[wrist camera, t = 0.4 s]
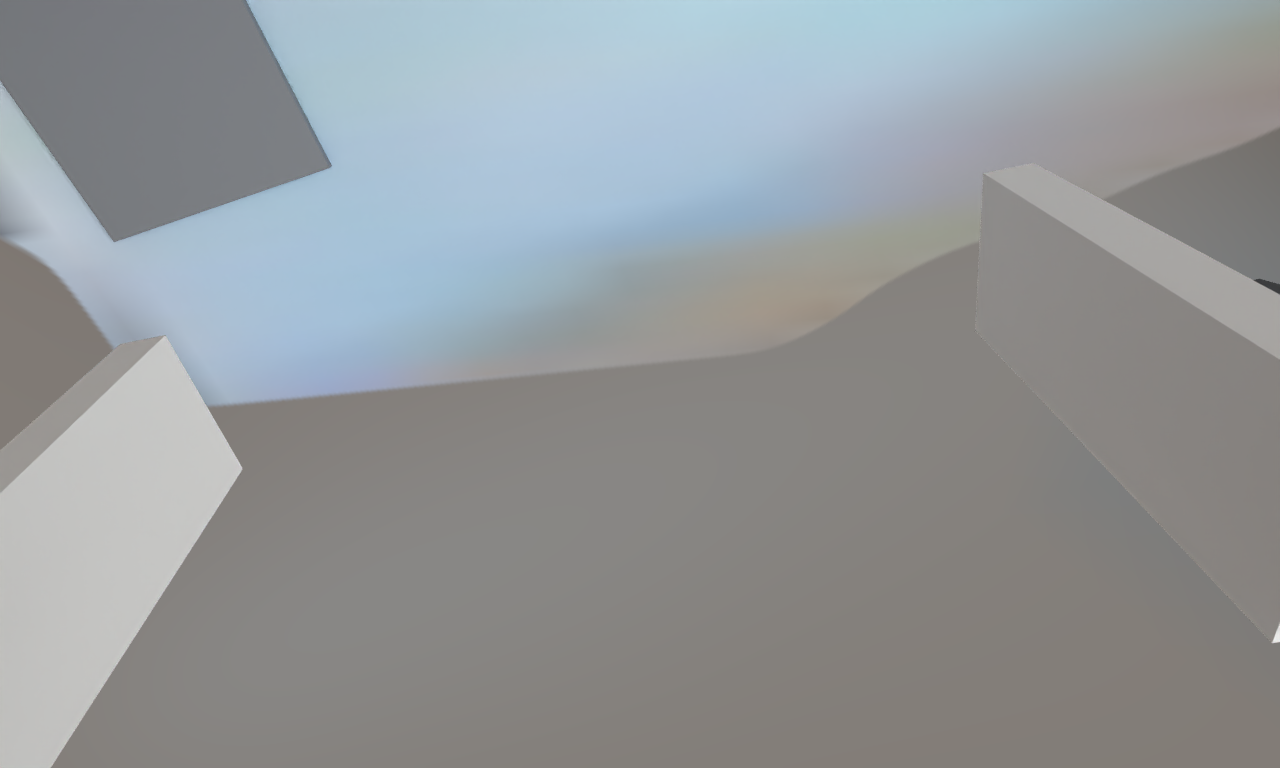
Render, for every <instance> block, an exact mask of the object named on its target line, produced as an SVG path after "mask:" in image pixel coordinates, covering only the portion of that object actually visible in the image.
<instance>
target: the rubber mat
mask: <svg viewBox="0 0 1280 768" xmlns="http://www.w3.org/2000/svg"><path fill="white" fill-rule="evenodd" d="M0 80H1V82H2V83H3V85H4V86H5V88H6V89H7V90H8V92H9V93H10V95H11V96H12V98H13V99H14V100H15V102H16V103H17V105H18V106H19V107H20V109H21V110H22V112H23V113H24V115H25V116H26V117H27V119H28V120H29V122H30V123H31V125H32V126H33V127H34V129H35V130H36V132H37V133H38V134H39V136H40V137H41V139H42V140H43V142H44V143H45V144H46V146H47V147H48V149H49V150H50V152H51V153H52V154H53V156H54V157H55V159H56V160H57V161H58V163H59V164H60V166H61V167H62V169H63V170H64V171H65V173H66V174H67V176H68V177H69V179H70V180H71V181H72V183H73V184H74V186H75V187H76V189H77V190H78V191H79V193H80V194H81V196H82V197H83V198H84V200H85V201H86V203H87V204H88V206H89V207H90V208H91V210H92V211H93V213H94V214H95V216H96V217H97V218H98V220H99V221H100V223H101V224H102V225H103V227H104V228H105V230H106V231H107V233H108V234H109V235H110V237H111V238H112V240H113V241H114V242H115V241H118V240H121V239H124V238H127V237H130V236H133V235H136V234H139V233H142V232H144V231H147V230H150V229H153V228H156V227H159V226H162V225H165V224H168V223H171V222H174V221H176V220H179V219H182V218H185V217H188V216H191V215H194V214H197V213H200V212H203V211H205V210H208V209H211V208H214V207H217V206H220V205H223V204H226V203H229V202H232V201H235V200H237V199H240V198H243V197H246V196H249V195H252V194H255V193H258V192H261V191H264V190H266V189H269V188H272V187H275V186H278V185H281V184H284V183H287V182H290V181H293V180H296V179H298V178H301V177H304V176H307V175H310V174H313V173H316V172H319V171H322V170H325V169H327V168H330V167H331V164H330V162H329V160H328V158H327V156H326V154H325V152H324V150H323V148H322V146H321V144H320V143H319V141H318V139H317V137H316V135H315V133H314V131H313V129H312V127H311V125H310V123H309V121H308V119H307V118H306V116H305V114H304V112H303V110H302V108H301V106H300V104H299V102H298V100H297V98H296V96H295V94H294V93H293V91H292V89H291V87H290V85H289V83H288V81H287V79H286V77H285V75H284V73H283V71H282V69H281V68H280V66H279V64H278V62H277V60H276V58H275V56H274V54H273V52H272V50H271V48H270V46H269V44H268V43H267V41H266V39H265V37H264V35H263V33H262V31H261V29H260V27H259V25H258V23H257V21H256V19H255V17H254V16H253V14H252V12H251V10H250V8H249V6H248V4H247V2H246V0H0Z"/></svg>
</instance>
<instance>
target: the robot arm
mask: <svg viewBox="0 0 1280 768" xmlns="http://www.w3.org/2000/svg"><path fill="white" fill-rule="evenodd" d="M975 331H976V332H977V333H978V334H979V335H980V336H981V337H982V338H983V339H984V340H985V341H986V343H987V344H988V345H989V346H990V347H991V348H992V349H993V350H994V351H995V352H996V353H997V354H998V355H999V356H1000V357H1001V358H1002V359H1003V360H1004V361H1005V363H1006V364H1007V365H1008V366H1009V367H1010V368H1011V369H1012V370H1013V371H1014V372H1015V373H1016V374H1017V375H1018V376H1019V377H1020V378H1021V379H1022V380H1023V381H1024V383H1025V384H1026V385H1027V386H1028V387H1029V388H1030V389H1031V390H1032V391H1033V392H1034V393H1035V394H1036V395H1037V396H1038V397H1039V398H1040V399H1041V400H1042V401H1043V402H1044V404H1045V405H1046V406H1047V407H1048V408H1049V409H1050V410H1051V411H1052V412H1053V413H1054V414H1055V415H1056V416H1057V417H1058V418H1059V419H1060V420H1061V421H1062V423H1064V425H1065V426H1066V427H1067V428H1068V429H1069V430H1070V431H1071V432H1072V433H1073V434H1074V435H1075V436H1076V437H1077V438H1078V439H1079V440H1080V441H1081V443H1082V444H1084V446H1085V447H1086V448H1087V449H1088V450H1089V451H1090V452H1091V453H1092V454H1093V455H1094V456H1095V457H1096V458H1097V459H1098V460H1099V461H1100V462H1101V464H1103V466H1104V467H1105V468H1106V469H1107V470H1108V471H1109V472H1110V473H1111V474H1112V475H1113V476H1114V477H1115V478H1116V479H1117V480H1118V481H1119V482H1120V483H1121V485H1123V487H1124V488H1125V489H1126V490H1127V491H1128V492H1129V493H1130V494H1131V495H1132V496H1133V497H1134V498H1135V499H1136V500H1137V501H1138V502H1139V503H1140V505H1141V506H1142V507H1143V508H1144V509H1145V510H1146V511H1147V512H1148V513H1149V514H1150V515H1151V516H1152V517H1153V518H1154V519H1155V520H1156V521H1157V522H1158V524H1160V526H1161V527H1162V528H1163V529H1164V530H1165V531H1166V532H1167V533H1168V534H1169V535H1170V536H1171V537H1172V538H1173V539H1174V540H1175V541H1176V542H1177V544H1179V546H1180V547H1181V548H1182V549H1183V550H1184V551H1185V552H1186V553H1187V554H1188V555H1189V556H1190V557H1191V558H1192V559H1193V560H1194V561H1195V562H1196V563H1197V565H1198V566H1199V567H1200V568H1201V569H1202V570H1203V571H1204V572H1205V573H1206V574H1207V575H1208V576H1209V577H1210V578H1211V579H1212V580H1213V581H1214V582H1215V583H1216V585H1217V586H1218V587H1219V588H1220V589H1221V590H1222V591H1223V592H1224V593H1225V594H1226V595H1227V596H1228V597H1229V598H1230V599H1231V600H1232V601H1233V602H1234V603H1235V605H1236V606H1237V607H1238V608H1239V609H1240V610H1241V611H1242V612H1243V613H1244V614H1245V615H1246V616H1247V617H1248V618H1249V619H1250V620H1251V621H1252V622H1253V623H1254V625H1255V626H1257V628H1258V629H1259V630H1260V631H1261V632H1262V633H1263V634H1264V635H1265V636H1266V637H1267V638H1268V639H1269V640H1270V641H1271V642H1272V643H1275V642H1280V284H1276V283H1273V282H1269V281H1265V280H1262V279H1256V280H1251V279H1250V278H1248V277H1246V276H1244V275H1242V274H1240V273H1238V272H1237V271H1235V270H1233V269H1231V268H1229V267H1227V266H1225V265H1223V264H1222V263H1220V262H1218V261H1216V260H1214V259H1212V258H1210V257H1208V256H1207V255H1205V254H1203V253H1201V252H1199V251H1197V250H1195V249H1193V248H1191V247H1190V246H1188V245H1186V244H1184V243H1182V242H1180V241H1179V240H1177V239H1175V238H1173V237H1171V236H1169V235H1167V234H1165V233H1163V232H1162V231H1160V230H1158V229H1156V228H1154V227H1152V226H1150V225H1148V224H1147V223H1145V222H1143V221H1141V220H1139V219H1137V218H1135V217H1134V216H1132V215H1130V214H1128V213H1126V212H1124V211H1122V210H1121V209H1119V208H1117V207H1115V206H1113V205H1111V204H1109V203H1107V202H1105V201H1104V200H1102V199H1100V198H1098V197H1096V196H1094V195H1092V194H1091V193H1089V192H1087V191H1085V190H1083V189H1081V188H1079V187H1077V186H1076V185H1074V184H1072V183H1070V182H1068V181H1066V180H1064V179H1063V178H1061V177H1059V176H1057V175H1055V174H1053V173H1051V172H1049V171H1048V170H1046V169H1044V168H1042V167H1040V166H1038V165H1036V164H1034V163H1032V164H1027V165H1022V166H1017V167H1012V168H1007V169H1002V170H997V171H992V172H987V173H983V188H982V208H981V229H980V249H979V269H978V290H977V309H976V330H975ZM242 469H243V468H242V467H241V465H240V463H239V461H238V460H237V458H236V456H235V455H234V453H233V451H232V450H231V448H230V446H229V444H228V443H227V441H226V439H225V437H224V436H223V434H222V432H221V430H220V429H219V427H218V425H217V424H216V422H215V420H214V419H213V417H212V415H211V413H210V411H209V410H208V408H207V406H206V405H205V403H204V401H203V399H202V398H201V396H200V394H199V393H198V391H197V389H196V387H195V386H194V384H193V382H192V380H191V379H190V377H189V375H188V374H187V372H186V370H185V368H184V367H183V365H182V363H181V361H180V360H179V358H178V356H177V355H176V353H175V351H174V349H173V348H172V346H171V344H170V343H169V341H168V339H167V337H166V336H165V335H164V336H159V337H154V338H149V339H144V340H139V341H134V342H129V343H124V344H120V345H119V346H118V347H116V348H115V349H114V350H113V351H112V352H111V353H110V354H109V355H107V356H106V357H105V358H104V359H103V360H102V361H101V362H99V363H98V364H97V365H96V366H95V367H94V368H93V369H92V370H91V371H89V372H88V373H87V374H86V375H85V376H84V377H83V378H81V379H80V380H79V381H78V382H77V383H76V384H75V385H74V386H72V387H71V388H70V389H69V390H68V391H67V392H66V393H65V394H63V396H61V397H60V398H59V399H58V400H57V401H55V402H54V404H52V405H51V406H50V407H49V408H48V409H46V410H45V411H44V412H43V413H42V414H41V415H40V416H39V417H37V418H36V419H35V420H34V421H33V422H32V423H31V424H30V425H28V426H27V427H26V428H25V429H24V430H23V431H22V432H21V433H19V434H18V435H17V436H16V437H15V438H14V439H13V440H12V441H10V442H9V443H8V444H7V445H6V446H5V447H4V448H2V449H1V450H0V768H51V766H52V764H53V763H54V762H55V760H56V758H57V757H58V755H59V754H60V752H61V751H62V749H63V747H64V746H65V744H66V743H67V741H68V740H69V738H70V737H71V735H72V733H73V732H74V730H75V729H76V727H77V726H78V724H79V723H80V721H81V719H82V718H83V716H84V715H85V713H86V712H87V710H88V709H89V707H90V706H91V704H92V702H93V701H94V699H95V698H96V696H97V694H98V693H99V691H100V690H101V688H102V687H103V685H104V684H105V682H106V681H107V679H108V678H109V676H110V674H111V673H112V671H113V670H114V668H115V667H116V665H117V663H118V662H119V660H120V659H121V657H122V656H123V654H124V653H125V651H126V650H127V648H128V646H129V645H130V643H131V642H132V640H133V639H134V637H135V636H136V634H137V632H138V631H139V629H140V628H141V626H142V625H143V623H144V622H145V620H146V618H147V617H148V615H149V614H150V612H151V611H152V609H153V608H154V606H155V604H156V603H157V601H158V600H159V598H160V597H161V595H162V594H163V592H164V590H165V589H166V587H167V586H168V584H169V583H170V581H171V580H172V578H173V576H174V575H175V573H176V572H177V570H178V569H179V567H180V566H181V564H182V563H183V561H184V559H185V558H186V556H187V555H188V553H189V552H190V550H191V549H192V547H193V545H194V544H195V542H196V541H197V539H198V538H199V536H200V535H201V533H202V531H203V530H204V528H205V527H206V525H207V524H208V522H209V520H210V519H211V517H212V516H213V514H214V513H215V511H216V510H217V508H218V506H219V505H220V503H221V502H222V500H223V499H224V497H225V495H226V494H227V492H228V491H229V489H230V488H231V486H232V485H233V483H234V482H235V480H236V478H237V477H238V475H239V474H240V472H241V471H242Z"/></svg>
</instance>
